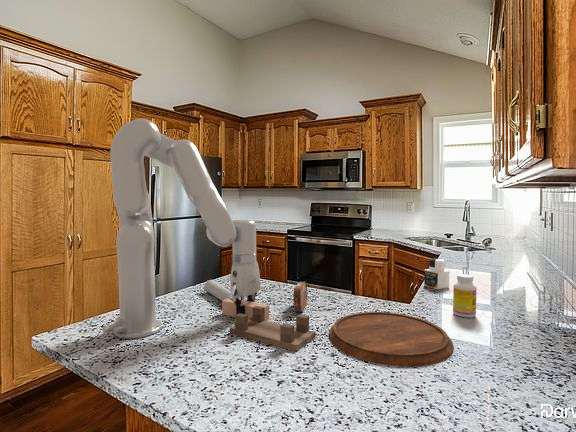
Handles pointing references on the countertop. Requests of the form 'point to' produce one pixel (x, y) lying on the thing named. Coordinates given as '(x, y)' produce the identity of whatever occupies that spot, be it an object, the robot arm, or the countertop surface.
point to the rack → (273, 330)
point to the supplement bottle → (464, 296)
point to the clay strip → (230, 308)
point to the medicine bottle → (436, 274)
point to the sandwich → (300, 296)
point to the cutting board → (391, 339)
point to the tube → (217, 290)
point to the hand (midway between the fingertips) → (245, 314)
